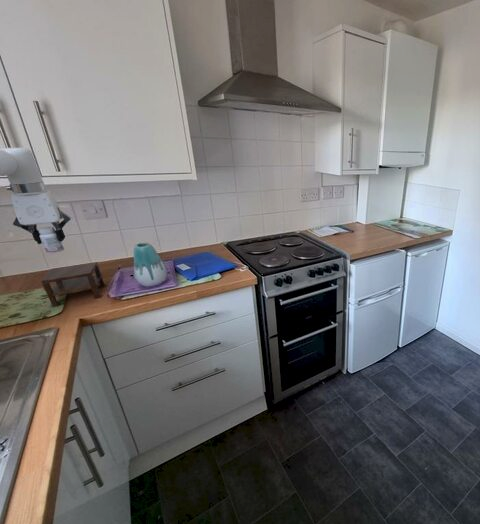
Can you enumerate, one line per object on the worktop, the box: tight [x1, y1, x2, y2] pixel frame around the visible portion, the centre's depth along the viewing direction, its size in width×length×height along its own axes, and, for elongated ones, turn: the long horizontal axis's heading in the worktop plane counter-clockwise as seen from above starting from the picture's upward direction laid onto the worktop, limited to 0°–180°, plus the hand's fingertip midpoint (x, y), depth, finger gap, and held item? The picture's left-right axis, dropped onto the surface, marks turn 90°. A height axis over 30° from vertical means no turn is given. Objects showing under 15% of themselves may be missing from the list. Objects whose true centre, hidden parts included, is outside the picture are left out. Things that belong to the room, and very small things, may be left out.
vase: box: [133, 242, 168, 288], centre depth 124 cm, size 12×12×18 cm
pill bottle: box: [37, 226, 65, 254], centre depth 104 cm, size 5×5×8 cm
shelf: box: [40, 261, 106, 307], centre depth 116 cm, size 14×12×11 cm
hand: (51, 241), depth 104 cm, fingers closed on pill bottle, 4 cm apart
